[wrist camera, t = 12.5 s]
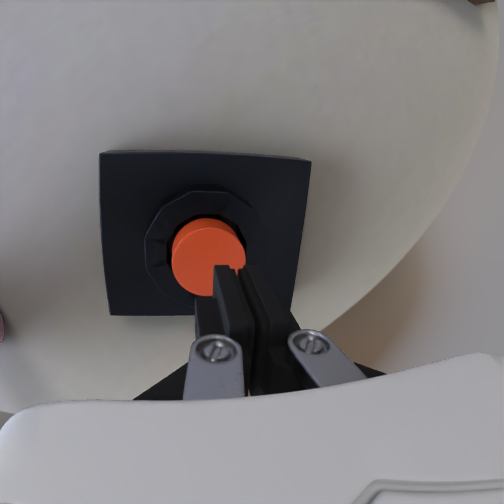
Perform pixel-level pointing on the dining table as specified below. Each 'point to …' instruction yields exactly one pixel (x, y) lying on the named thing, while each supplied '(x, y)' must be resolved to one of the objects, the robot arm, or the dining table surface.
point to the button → (204, 253)
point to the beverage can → (1, 329)
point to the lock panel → (480, 1)
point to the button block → (192, 208)
